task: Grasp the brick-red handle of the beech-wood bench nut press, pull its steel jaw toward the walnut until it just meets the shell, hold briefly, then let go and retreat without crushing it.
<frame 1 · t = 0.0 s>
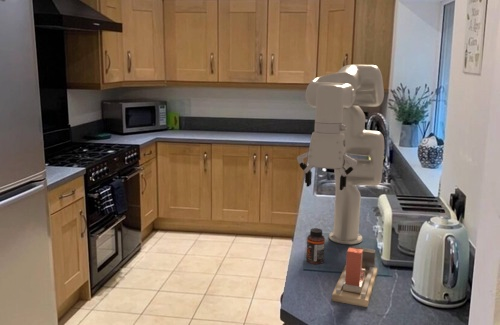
hand: (325, 187, 142), 31 cm above the worktop, tool pointing down, fingers open, 9 cm apart
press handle: (355, 266, 143), point 8 cm above the worktop, slide at 0.0 cm
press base: (356, 286, 149), on the worktop
supplement bottle: (314, 261, 168), on the worktop
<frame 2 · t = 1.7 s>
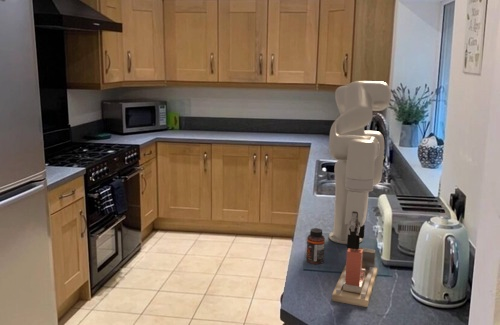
hand: (355, 242, 139), 17 cm above the worktop, tool pointing down, fingers open, 9 cm apart
nothing on the worktop moved.
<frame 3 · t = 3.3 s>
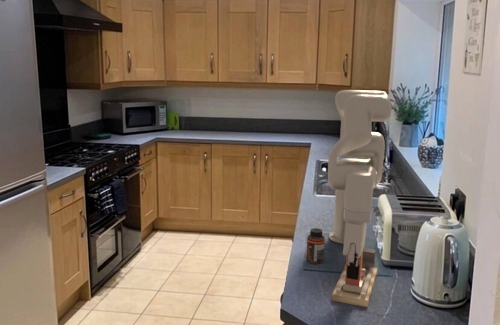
hand: (353, 275, 141), 7 cm above the worktop, tool pointing down, fingers closed on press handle, 3 cm apart
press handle: (355, 266, 143), point 8 cm above the worktop, slide at 0.0 cm, touching gripper
everything else where it was.
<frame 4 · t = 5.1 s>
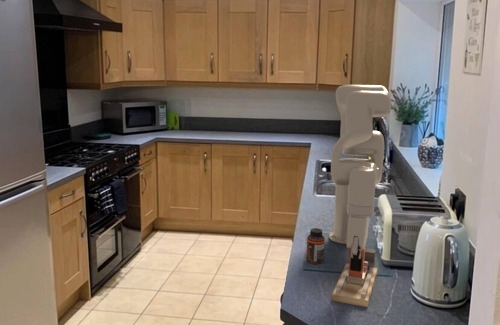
hand: (356, 267, 146), 7 cm above the worktop, tool pointing down, fingers closed on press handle, 3 cm apart
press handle: (358, 259, 148), point 8 cm above the worktop, slide at 5.9 cm, touching gripper
everything else where it was.
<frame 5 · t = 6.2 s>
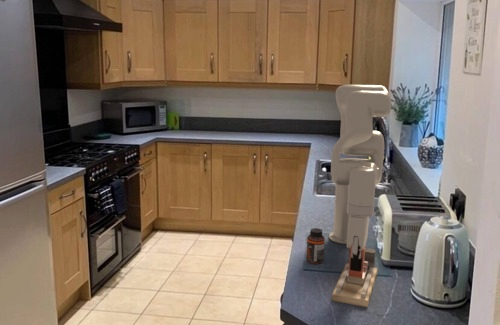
hand: (356, 267, 147), 7 cm above the worktop, tool pointing down, fingers closed on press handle, 3 cm apart
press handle: (358, 259, 148), point 8 cm above the worktop, slide at 6.0 cm, touching gripper
everything else where it was.
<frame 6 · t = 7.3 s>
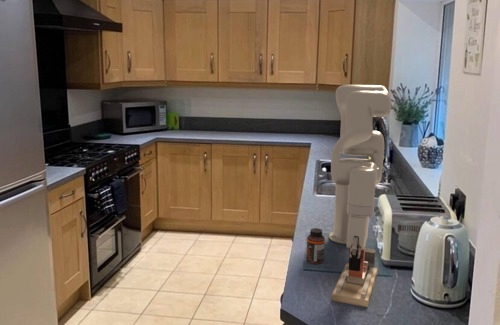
hand: (356, 264, 146), 8 cm above the worktop, tool pointing down, fingers open, 9 cm apart
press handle: (358, 259, 148), point 8 cm above the worktop, slide at 6.0 cm
everything else where it was.
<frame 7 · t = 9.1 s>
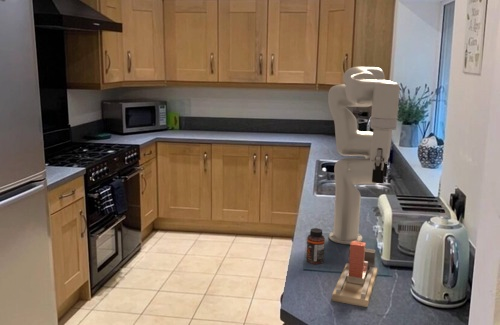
hand: (379, 179, 151), 32 cm above the worktop, tool pointing down, fingers open, 9 cm apart
nothing on the worktop moved.
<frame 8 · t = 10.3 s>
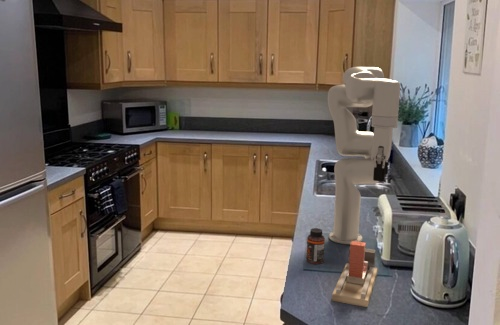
hand: (380, 177, 151), 32 cm above the worktop, tool pointing down, fingers open, 9 cm apart
nothing on the worktop moved.
at the end: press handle slide at 6.0 cm; the gripper is holding nothing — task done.
